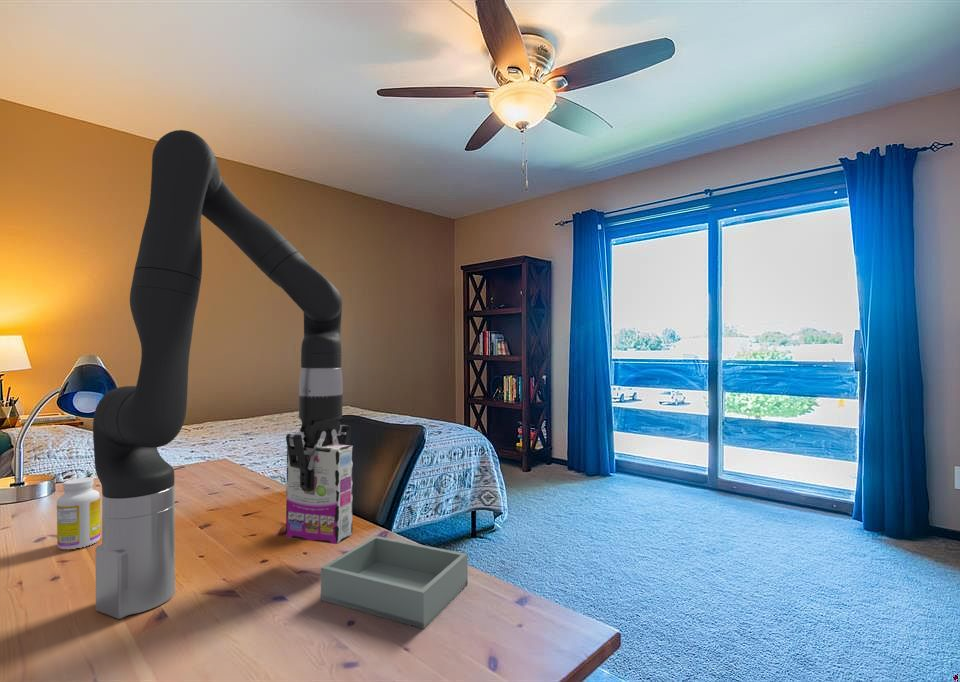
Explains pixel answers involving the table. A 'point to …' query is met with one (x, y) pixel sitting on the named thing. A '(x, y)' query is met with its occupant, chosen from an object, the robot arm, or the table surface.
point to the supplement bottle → (78, 514)
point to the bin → (395, 580)
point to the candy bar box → (322, 497)
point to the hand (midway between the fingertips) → (320, 486)
